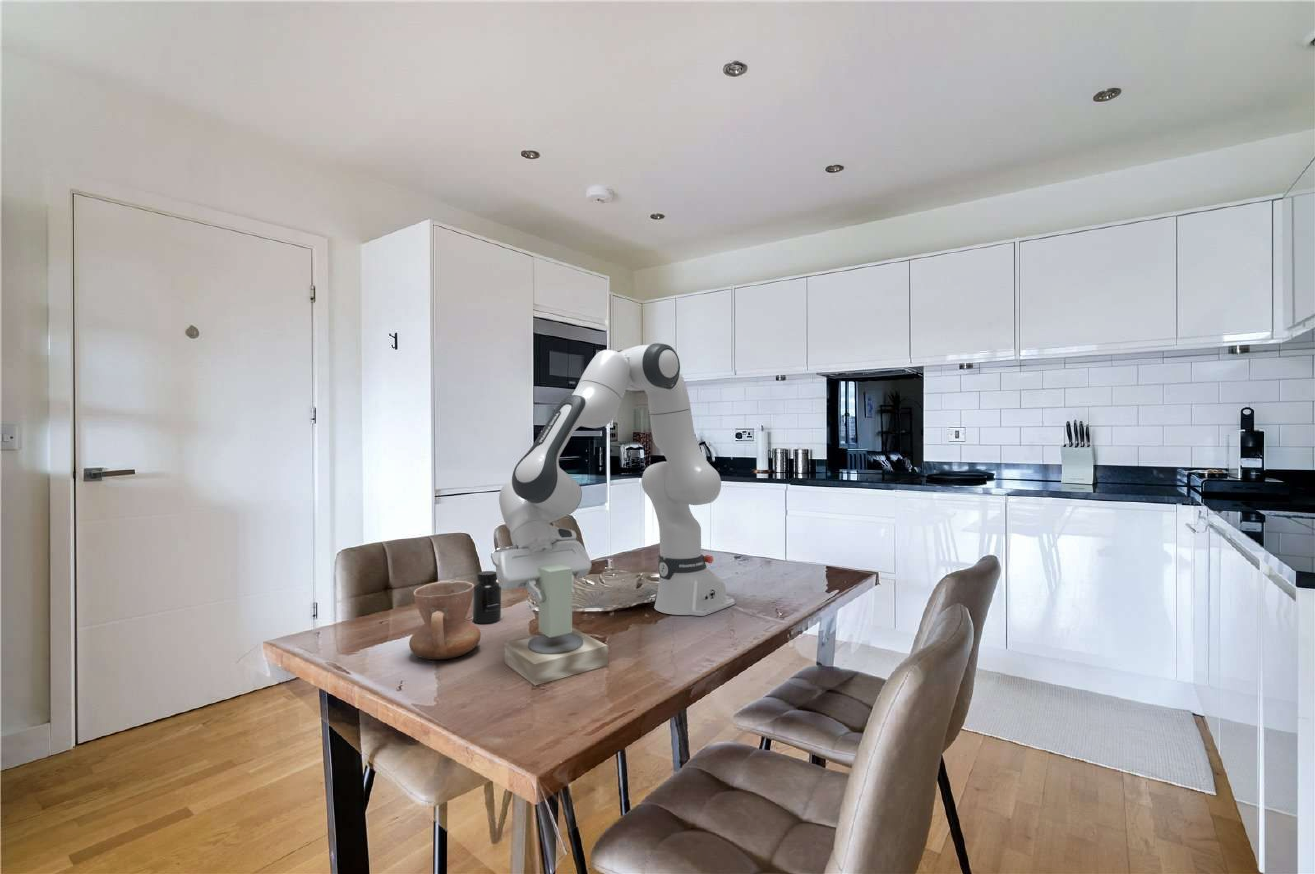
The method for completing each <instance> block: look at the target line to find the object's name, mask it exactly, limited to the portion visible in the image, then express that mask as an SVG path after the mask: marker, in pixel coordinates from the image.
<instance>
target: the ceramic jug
mask: <svg viewBox="0 0 1315 874" xmlns="http://www.w3.org/2000/svg"><path fill="white" fill-rule="evenodd" d="M474 586H475V584H474V583H472V582H470V581H465V580H454V581H453V582H452V581H450V580H445V581H443V580H442V581H438V582H437V581H435V582H432V583H428V584H424V585H423V586H420V587H418V588H416V589H415V590H414V591H413V598H414V602H415V605H416V607H417V610H418V612H419V615H420V616H421V619H422V621H423V622H424V624H423V625H422V626H421V627H419V628H418V629H417V630H415V632H414V633H413V634H411V636H410V638H409V642H408V644H409V649H410V651H411V652H412V653H413V654H414V655H415V656H417V657H419V658H423V659H428V660H448V659H453V658H456V657H461V656H463V655H466V654H467V653H469V652H471V651H473V650H474V649H475V648H476V647H477V646H478V644H479V642H480V639H481V637H482V635H481V631H480V628H479V626H478V625H476V623H474V622H472V621H470V620H468V619H466V618H467V615H468V612H469V610H470V607H471V604H472V603H473V593H474Z"/></svg>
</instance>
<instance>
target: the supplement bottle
mask: <svg viewBox="0 0 1315 874" xmlns="http://www.w3.org/2000/svg"><path fill="white" fill-rule="evenodd" d="M476 575H477V576H476V577H477V578H476V581H477V583H476V584H474V593H473V598H472V621H473V623H475V624H481V625H485V624H486V625H487V624H493V623H497V622H498V621H500V620H501V617H502V588H501V587H500V586H499V583H498V579H497V574H496V570H486V571H480V572H477V574H476Z"/></svg>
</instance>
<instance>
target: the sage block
mask: <svg viewBox="0 0 1315 874" xmlns="http://www.w3.org/2000/svg"><path fill="white" fill-rule="evenodd" d="M538 570H539V573H540V578H538V585H537V586H538V587H537V588H538V589H539V590H540V591H544V592H545V595H546V600H545V602H543V603H537V604H538V606H537V607H538V609H537V611H538V632H539V633H541V634H542V635H544V634H545V635H546V636H548V637H555V636H559V635H563V634H568V633H572V628H573V597H572V568H569V567H566V566H564V565H561V564H558V565H552V566H545V567H538Z"/></svg>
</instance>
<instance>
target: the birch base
mask: <svg viewBox="0 0 1315 874" xmlns="http://www.w3.org/2000/svg"><path fill="white" fill-rule="evenodd" d="M608 647H609V646H608V644H606V643H603V642H602V641H600V640H598V639H596V638H594V637H593V636H592V637H591V636H590V635H588V634H586V633H584V632H582V631H580V630H578V629H576V628H574V627H572V633H568V634H563V635H559V636H555V637H548V636H546V635H545V634H541V635H538V636H537V635H536V636H531V637H528V638H525V639H519V640H515V641H511V642H506V643H504V663H505V664H506V665H507V667H509V668H511V669H512V670H513V671H514V672H516V673H518V675H520V676H522V677H523V678H524V679H525V680H527V681H528V682H530V683H531V684H532V685H534V686H538V685H543V684H545V683H548V682H552V681H556V680H560V679H563V678H567V677H570V676H575V675H578V674H581V673H586V672H589V671H591V670H596V669H600V668H603V667H607V666H608V665H609V663H608V661H609V660H608V659H609V657H608V655H609V654H608V652H609V648H608Z"/></svg>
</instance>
